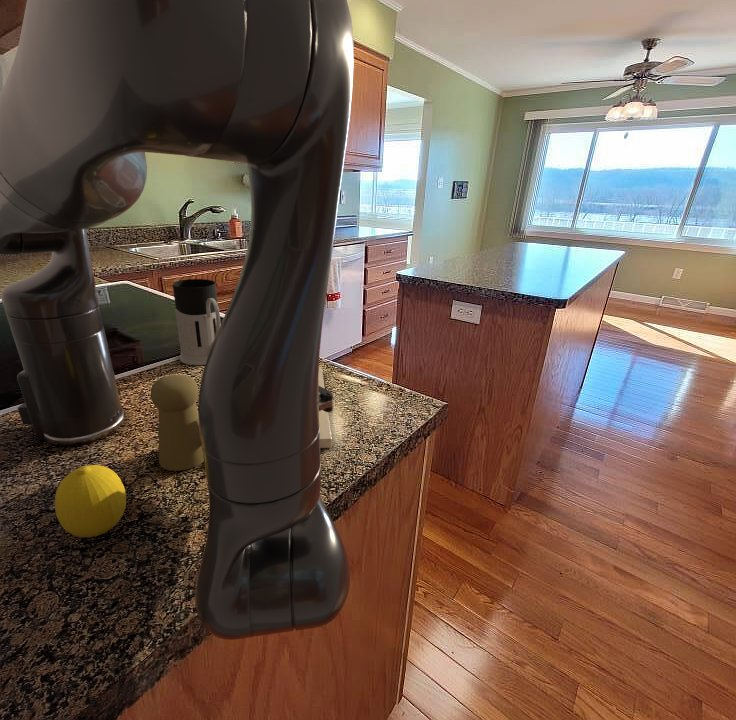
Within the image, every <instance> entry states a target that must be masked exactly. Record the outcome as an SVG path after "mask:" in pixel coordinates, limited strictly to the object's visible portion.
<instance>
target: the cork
mask: <svg viewBox="0 0 736 720" xmlns="http://www.w3.org/2000/svg"><path fill="white" fill-rule="evenodd" d="M198 399H199V387H198V383H197V381H195V380H194V378H193V377H192V376H189V375H185V374H171V375H167V376H163V377H161V378H160V379H157V380H155V382H154V383H153V384H152V386H151V388H150V400H151V402H152V404H153V406H155V408H157V415H158V416H157V417H158V418H157V420H158V423H157V424H158V464H159V466H160V467H161V468H163V469H165V470H167V471H173V472H177V471H179V472H181V471H186V470H190V469H192V468H196V467H198V466H200V465H201V464H204V458H203V452H202V445H201V438H200V432H199V420H198V406H197V404H196V401H198Z"/></svg>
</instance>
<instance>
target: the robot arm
mask: <svg viewBox="0 0 736 720" xmlns="http://www.w3.org/2000/svg"><path fill="white" fill-rule="evenodd" d="M352 21H353V20H352V15H351V11H350V7H349V3H348V0H26V3H25V9H24V15H23V20H22V24H21V25H22V26H21V31H20V36H19V39H18V40H19V41H18V46H17V49H16V52H15V57H14V59H13V62H12V64H11V67H10V70H9V73H8V75H7V77H6V80H5V82H4V84H3V87H2V89H1V91H0V255H27V254H30V255H31V254H41V253H42V254H44V253H45V254H46V253H51V256H50V260H49V261H48V263H47V264H46V265H44V267H42V268H41V269H40V270H38V271H37V272H35V273H34V274H32V275H30V276H27V277H25V278H23V279H20V280H18V281H16V282H13V283H11V284H9V285H8V286H6V287H4V288H3V290H2V291H1V293H0V300H1V303H2V307H3V310H4V313H5V315H6V319H7V322H8V325H9V328H10V331H11V334H12V338H13V340H14V344H15V346H16V350H17V353H18V356H19V359H20V362H21V365H22V368H23V370H21V371H20V372H19V373H17V376H16V379H17V383H18V385H19V389H20V391H21V392H20V393H21V395H22V398H23V400H24V402H23V403H21V404H20V405H19V406H18V407H17V411H18V414H19V416H20V419H21V422H22V426H29V425H30V426H31V425H32V428H33V431H34V434H35V438H36V440H37V441H46V442H47V443H50V444H52V445H57V446H58V445H59V446H74V445H75V446H76V445H81V444H87V443H89V442H90V443H91V442H93V441H98V440H100V439H102V438H104V437H106V436H108V435H111V434H112V433H114V432H115V431H117V430H118V429H119V428H120V427H121V426H122V425H123V424H124V422H125V413H124V410H123V405H122V404H121V399H120V396H122V394H121V389H120V388H118V385H117V380H116V375H115V371H114V367H113V362H112V358H111V354H110V353H111V352H110V349H109V344H108V340H107V336H106V331H105V326H104V322H103V318H102V313H101V308H100V304H99V299H98V294H97V285H96V279H95V272H94V268H93V264H92V258H91V257H92V256H91V251H90V246H89V237H88V232H87V229H90V228H94V227H98V226H100V225H102V224H105V223H107V222H108V221H111V220H113V219H116V218H117V217H119V216H121V215H122V214H124V213H126V212H127V211H128V210H130V209H131V208H132V207H133V206H134V205H135V204H136V203H137V202H138V201H139V199H140V198H141V195H142V194H143V193H144V190H145V187H146V182H147V178H148V163H147V158H146V157H147V155H146V153H149V154H150V153H152V154H153V153H154V154H164V155H175V156H185V157H191V158H199V159H207V160H215V161H216V160H217V161H223V162H224V161H225V162H234V163H241V164H246V169H247V176H248V184H249V193H250V195H249V196H250V209H251V210H250V211H251V212H250V227H249V235H248V243H247V247H246V248H247V249H246V254H245V256H244V261H243V265H242V268H241V272H240V274H239V277H238V281H237V283H236V286H235V289H234V291H233V294H232V297H231V299H230V302H229V305H228V307H227V309H226V312H225V314H224V316H223V319H222V321H221V322H220V325H221V326H220V328H219V330H218V333H217V335H216V338H215V340H214V343H213V345H212V348H211V350H210V353H209V355H208V358H207V361H206V364H205V365H204V368H203V371H202V376H201V380H200V385H199V390H198V403H197V410H198V420H199V432H200V438H201V445H202V452H203V458H204V462H203V464H204V471H205V476H206V482H207V490H208V491H207V492H208V507H209V508H208V524H207V532H206V540H205V544H204V549H203V553H202V558H201V561H200V565H199V570H198V575H197V578H196V579H197V582H196V588H195V596H194V597H195V598H194V599H195V609H196V614H197V617H198V619H199V622H200V623H201V624H202V626H203V628H204V629H205V630H206V631H208V632H209V634H211V635H213V636H214V637H216V638H218V639H221V640H229V641H233V640H234V641H235V640H242V639H243V640H244V639H248V638H254V637H261V636H268V635H277V634H282V633H289V632H294V631H304V630H310V629H316V628H320V627H323V626H326V625H328V624H330V623H331V622H333V621H334V620H335V619H336V618H337V617H338V616H339V614H340V613H341V611H342V609H343V608H344V605H345V604H346V601H347V599H348V595H349V590H350V585H351V584H350V583H351V571H350V570H351V569H350V563H349V557H348V554H347V550H346V548H345V544H344V541H343V540H342V537H341V535H340V532H339V530H338V528H337V525H336V524H335V522H334V520H333V519H332V516H331V515H330V513H329V511H328V510H327V507H326V505H325V504H324V501H323V499H322V496H321V487H322V467H321V463H322V462H321V461H322V460H321V448H320V428H319V411H321V410H323V411H325V412H328V413H332V412H333V411H334V393H333V392H332V391H330V390H328V389H327V388H325V387H324V388H325V389H324V388H322V387H320V386H319V367H320V354H321V353H320V351H321V343H322V333H323V324H324V314H325V305H326V299H327V291H328V284H329V278H330V271H331V265H332V257H333V250H334V249H333V248H334V241H335V236H336V229H337V228H336V227H337V220H338V211H339V203H340V196H341V195H340V194H341V189H342V188H341V187H342V180H343V173H344V165H345V158H346V151H347V150H346V149H347V143H348V136H349V128H350V119H351V110H352V100H353V99H352V98H353V89H354V87H353V85H354V69H355V65H354V62H355V47H354V46H355V45H354V30H353V29H354V28H353V22H352Z"/></svg>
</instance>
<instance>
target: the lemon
mask: <svg viewBox="0 0 736 720" xmlns="http://www.w3.org/2000/svg"><path fill="white" fill-rule="evenodd" d="M126 507H127V491H126V488H125V486H124V483H123V482H122V480H121V478H120V477H119V476H118V473H116V472H115V471H114V470H112V469H111V468H109V467H106V466H103V465H99V464H90V465H83V466H79V467H78V468H76V469H74V470H72V471H70V472H69V473H68V474H67V475H66V476H65V477H64V478H63V479H62V480H61V482H60V483H59V484H58V487H57V488H56V491H55V496H54V510H55V511H54V512H55V515H56V518H57V521H58V522H59V524H60V525H61V527H62V529H64V530H65V531H66V532H67V533H69V534H71V535H72V536H74V537H79V538H94V537H97V536H100V535H104V534H105V533H107V532H109V531H110V530H111V529H113V528H114V527H115V526H117V524H118V523H119V521H121V519H122V517H123V515H124V513H125V510H126Z"/></svg>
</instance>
